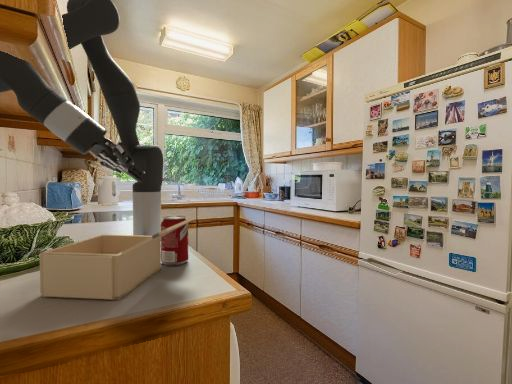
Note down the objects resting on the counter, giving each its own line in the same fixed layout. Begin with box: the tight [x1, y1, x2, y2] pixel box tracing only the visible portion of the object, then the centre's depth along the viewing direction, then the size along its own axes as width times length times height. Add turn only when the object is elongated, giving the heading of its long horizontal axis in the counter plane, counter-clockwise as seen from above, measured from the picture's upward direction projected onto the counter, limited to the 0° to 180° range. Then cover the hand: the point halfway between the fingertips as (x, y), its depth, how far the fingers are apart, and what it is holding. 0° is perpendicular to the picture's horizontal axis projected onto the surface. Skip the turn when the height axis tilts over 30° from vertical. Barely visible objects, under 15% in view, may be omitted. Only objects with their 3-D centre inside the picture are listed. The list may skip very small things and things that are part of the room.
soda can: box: [160, 214, 189, 267], centre depth 70 cm, size 7×7×12 cm
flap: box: [121, 216, 197, 255], centre depth 56 cm, size 16×1×10 cm
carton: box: [38, 234, 162, 301], centre depth 57 cm, size 18×15×8 cm
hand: (142, 178), depth 67 cm, fingers closed
